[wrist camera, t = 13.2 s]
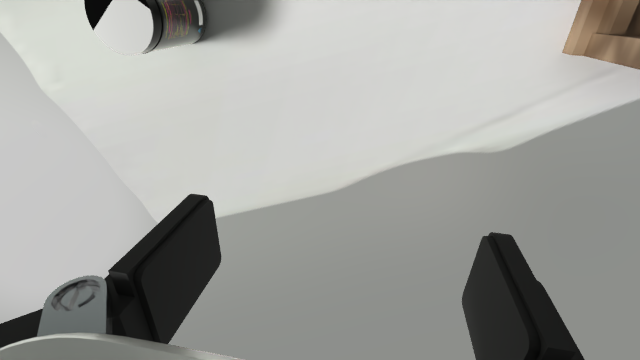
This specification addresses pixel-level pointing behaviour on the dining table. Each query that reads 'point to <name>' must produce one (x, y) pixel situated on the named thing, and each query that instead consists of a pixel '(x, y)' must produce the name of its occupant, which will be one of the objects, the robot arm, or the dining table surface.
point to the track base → (607, 32)
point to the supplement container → (146, 23)
